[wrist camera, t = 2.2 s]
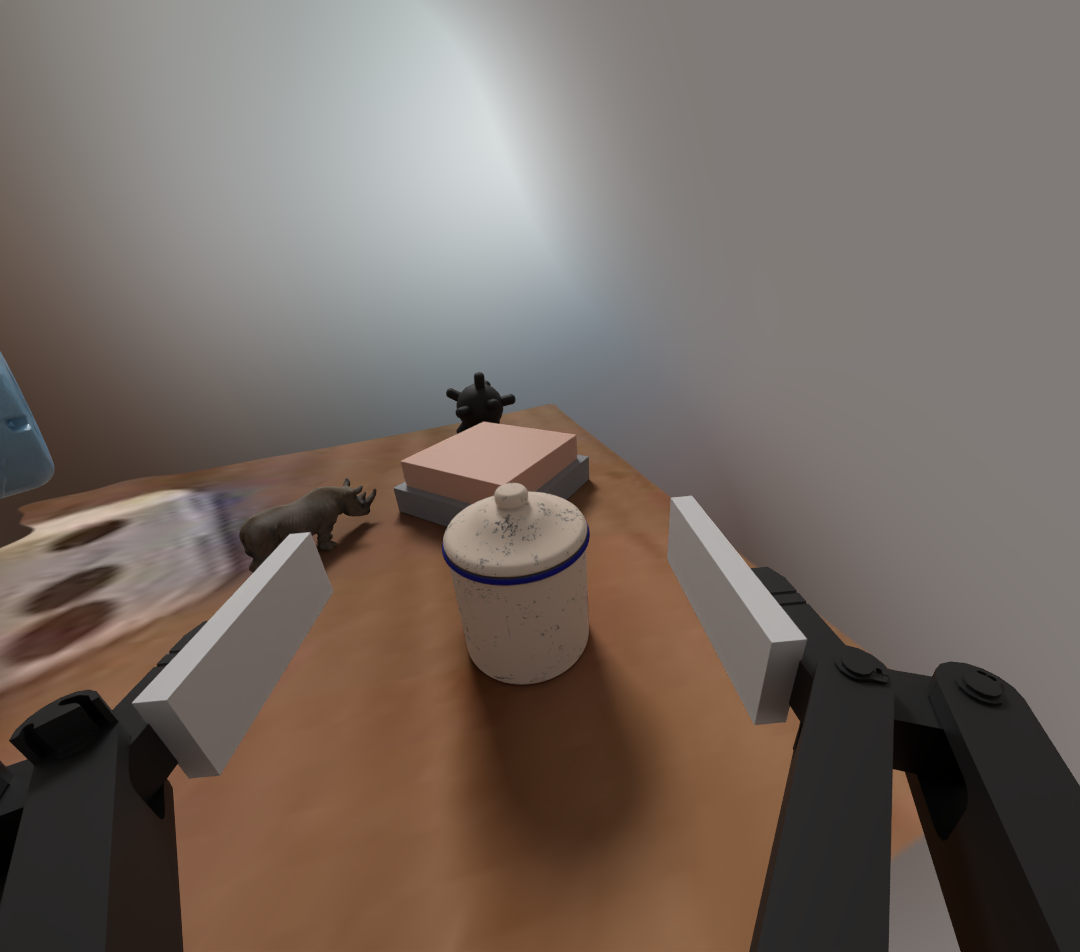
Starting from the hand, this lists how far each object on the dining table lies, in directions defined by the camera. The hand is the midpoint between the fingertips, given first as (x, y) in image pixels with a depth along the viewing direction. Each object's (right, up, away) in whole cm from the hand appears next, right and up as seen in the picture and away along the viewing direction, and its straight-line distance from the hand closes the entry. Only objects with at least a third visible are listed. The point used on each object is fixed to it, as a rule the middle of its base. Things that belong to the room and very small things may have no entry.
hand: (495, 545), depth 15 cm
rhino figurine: (-20, -5, +27) cm, 34 cm away
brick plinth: (-3, 0, +33) cm, 34 cm away
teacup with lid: (0, -8, +15) cm, 17 cm away
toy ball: (-8, +9, +54) cm, 55 cm away
